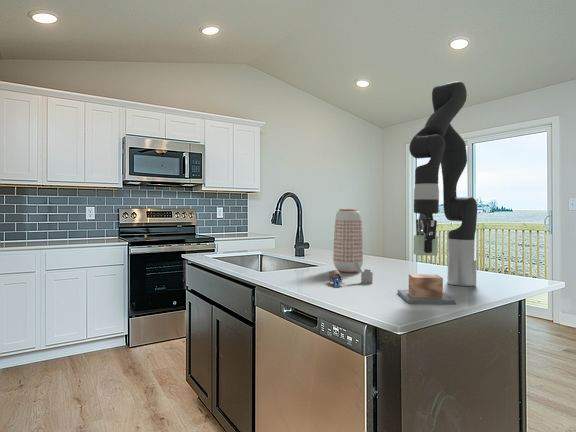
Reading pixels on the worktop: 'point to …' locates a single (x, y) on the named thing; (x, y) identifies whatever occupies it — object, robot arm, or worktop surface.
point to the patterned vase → (348, 240)
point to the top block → (420, 246)
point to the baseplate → (426, 298)
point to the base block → (425, 285)
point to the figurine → (335, 278)
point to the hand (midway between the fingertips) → (425, 251)
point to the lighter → (364, 274)
